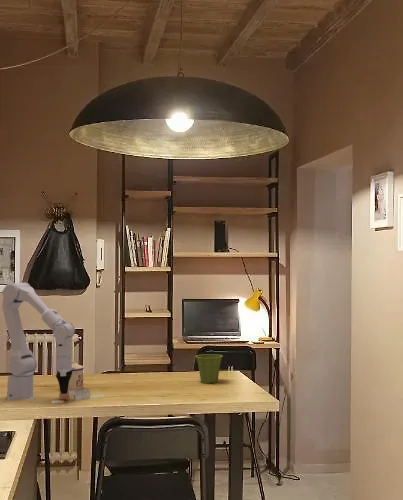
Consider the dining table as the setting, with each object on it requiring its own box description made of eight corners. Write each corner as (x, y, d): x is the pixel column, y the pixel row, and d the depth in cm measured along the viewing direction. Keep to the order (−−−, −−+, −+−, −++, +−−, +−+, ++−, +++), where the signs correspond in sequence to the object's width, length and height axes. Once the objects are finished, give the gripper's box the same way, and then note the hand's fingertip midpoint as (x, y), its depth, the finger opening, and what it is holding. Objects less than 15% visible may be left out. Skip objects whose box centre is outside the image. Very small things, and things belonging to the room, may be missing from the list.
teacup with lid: (80, 391, 258) (80, 362, 258) (58, 391, 259) (58, 362, 259) (88, 386, 270) (88, 358, 270) (66, 385, 271) (66, 357, 271)
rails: (57, 402, 237) (57, 396, 237) (59, 395, 249) (59, 390, 249) (89, 400, 239) (89, 395, 239) (90, 394, 251) (90, 389, 251)
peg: (59, 398, 238) (59, 379, 238) (59, 396, 241) (59, 378, 242) (69, 398, 238) (68, 379, 238) (69, 396, 242) (69, 377, 242)
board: (50, 405, 234) (50, 403, 234) (53, 396, 249) (53, 395, 249) (105, 402, 237) (105, 401, 237) (105, 394, 252) (105, 393, 252)
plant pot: (223, 379, 282) (223, 353, 283) (221, 384, 271) (221, 358, 271) (196, 379, 284) (196, 353, 284) (193, 384, 272) (193, 357, 272)
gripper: (74, 358, 234) (74, 396, 233) (76, 352, 248) (76, 388, 248) (54, 358, 233) (54, 396, 232) (57, 353, 247) (57, 388, 247)
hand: (64, 392), depth 240 cm, fingers closed on peg, 4 cm apart
